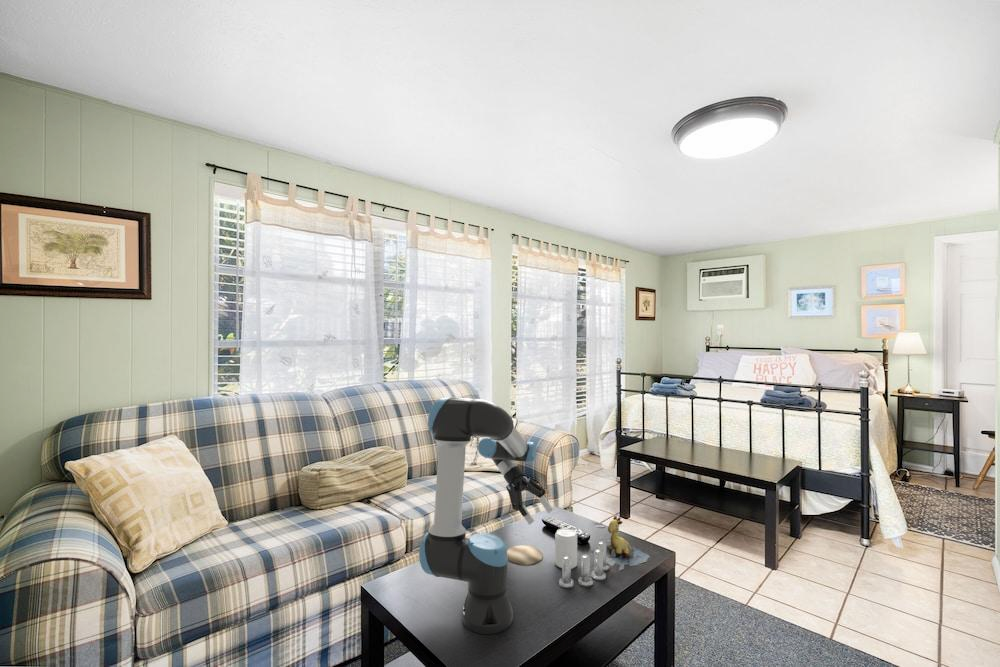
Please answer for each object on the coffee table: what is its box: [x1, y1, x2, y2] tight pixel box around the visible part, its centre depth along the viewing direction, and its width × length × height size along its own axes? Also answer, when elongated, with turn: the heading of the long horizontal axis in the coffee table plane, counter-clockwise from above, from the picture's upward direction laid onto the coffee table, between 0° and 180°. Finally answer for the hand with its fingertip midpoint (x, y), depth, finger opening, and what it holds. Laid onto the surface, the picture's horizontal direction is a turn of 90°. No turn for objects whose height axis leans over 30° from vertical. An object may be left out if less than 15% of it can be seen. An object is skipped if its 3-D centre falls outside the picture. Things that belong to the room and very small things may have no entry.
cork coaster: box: [507, 545, 543, 566], centre depth 171 cm, size 14×14×1 cm
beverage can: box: [554, 527, 578, 570], centre depth 165 cm, size 8×8×12 cm
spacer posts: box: [558, 540, 610, 589], centre depth 157 cm, size 23×12×9 cm, turn 142°
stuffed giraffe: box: [589, 515, 651, 572], centre depth 172 cm, size 16×18×16 cm
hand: (541, 517), depth 171 cm, fingers open, 13 cm apart
